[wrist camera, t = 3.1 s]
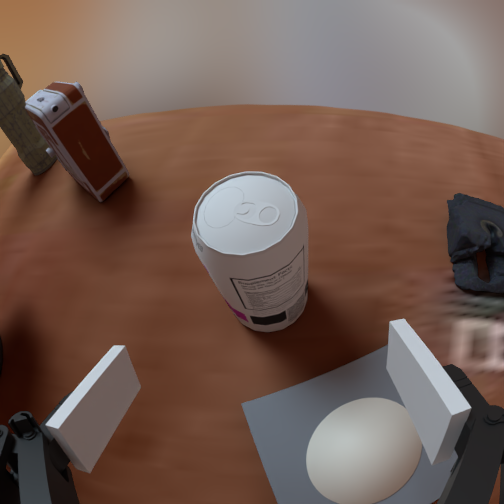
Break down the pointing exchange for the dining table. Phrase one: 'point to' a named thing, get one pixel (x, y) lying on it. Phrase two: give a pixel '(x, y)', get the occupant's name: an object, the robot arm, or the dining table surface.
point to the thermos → (21, 122)
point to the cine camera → (77, 138)
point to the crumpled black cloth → (476, 242)
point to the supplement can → (255, 248)
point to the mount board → (344, 440)
